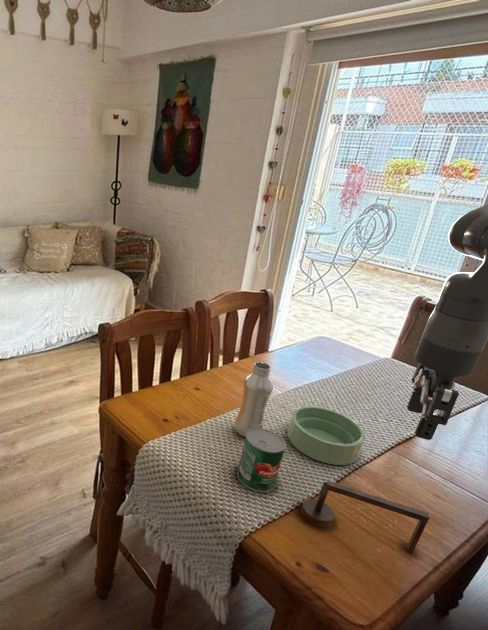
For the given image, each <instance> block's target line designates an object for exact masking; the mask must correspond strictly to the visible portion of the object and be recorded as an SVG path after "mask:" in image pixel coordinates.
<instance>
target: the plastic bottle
mask: <svg viewBox="0 0 488 630" xmlns="http://www.w3.org/2000/svg"><path fill="white" fill-rule="evenodd" d="M271 367H272V366H271V365H270V364H268V363H266V362H262V361H256V362H254V364H253V368H252V372H251V373H249V375H247V376H246V377H245V378H244V381H243V391H242V392H243V393H242V400H241V404H240V408H239V410H238V413H237V415H236V416H235V417H236V418H235V419H234V429H235V431H236V432H237V434H238V435H240V436H241V437H243V438H246V433H247V432H248V431H249V430H250V429H254V428H262V429H264V415H265V410H266V407H267V404H268V401H269V399H270V397H271V395H272V392H273V391H274V384H273V382H272V379H271V378H270V375H271V370H272V369H271Z"/></svg>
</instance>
